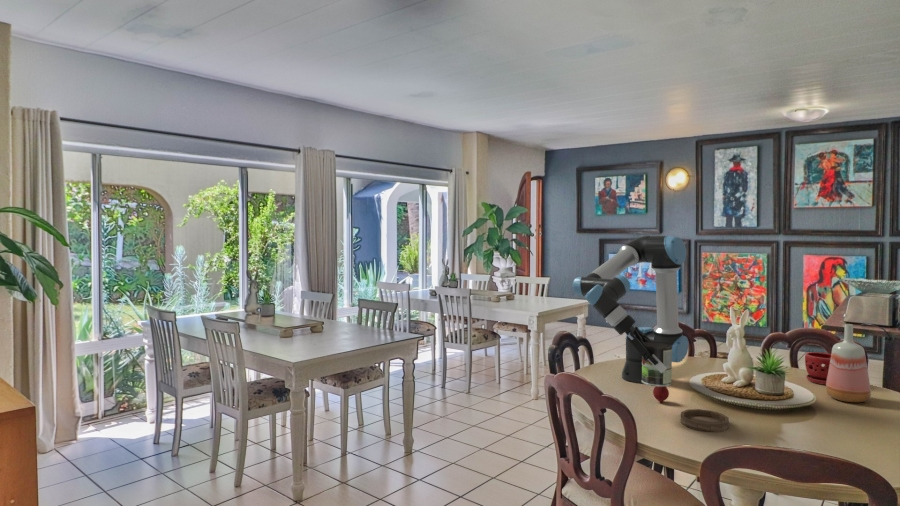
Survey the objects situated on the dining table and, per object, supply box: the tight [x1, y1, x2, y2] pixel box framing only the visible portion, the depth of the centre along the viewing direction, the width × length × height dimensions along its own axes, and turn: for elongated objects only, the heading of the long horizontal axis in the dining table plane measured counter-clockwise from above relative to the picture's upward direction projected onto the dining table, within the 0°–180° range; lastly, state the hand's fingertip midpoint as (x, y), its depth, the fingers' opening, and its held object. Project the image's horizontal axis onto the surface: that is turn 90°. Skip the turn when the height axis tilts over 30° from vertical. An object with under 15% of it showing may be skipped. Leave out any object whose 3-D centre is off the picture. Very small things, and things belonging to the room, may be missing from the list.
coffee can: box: [641, 341, 673, 387], centre depth 201 cm, size 10×10×14 cm
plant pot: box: [804, 351, 831, 386], centre depth 243 cm, size 13×13×12 cm
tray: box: [680, 408, 730, 433], centre depth 196 cm, size 15×15×3 cm
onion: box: [652, 386, 670, 403], centre depth 219 cm, size 6×6×8 cm
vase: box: [825, 323, 872, 404], centre depth 219 cm, size 14×14×30 cm
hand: (665, 367), depth 200 cm, fingers closed on coffee can, 10 cm apart
